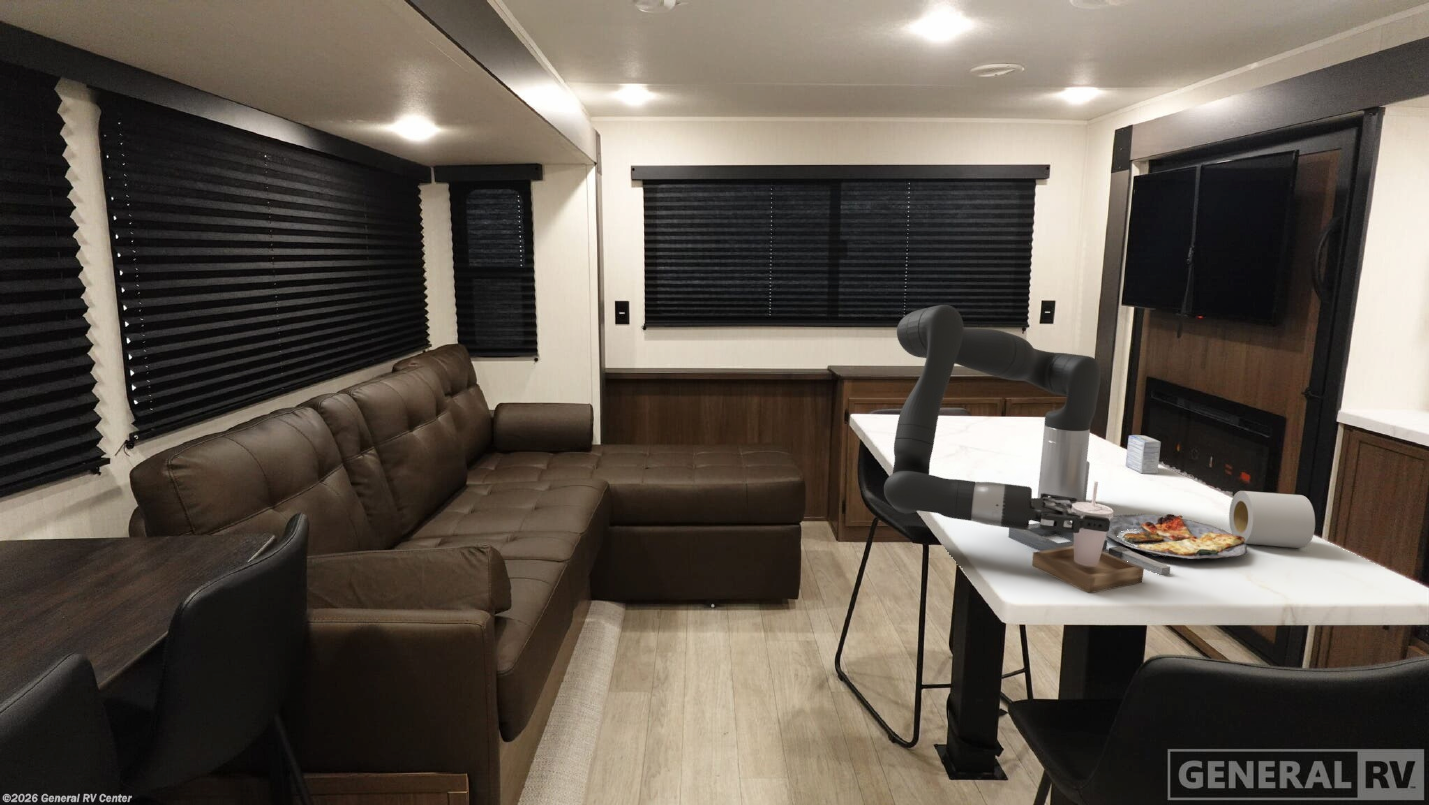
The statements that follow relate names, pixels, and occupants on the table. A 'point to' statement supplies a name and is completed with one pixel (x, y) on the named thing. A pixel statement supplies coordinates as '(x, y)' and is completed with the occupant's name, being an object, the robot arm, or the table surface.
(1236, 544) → the food plate
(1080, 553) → the smoothie
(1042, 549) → the socket
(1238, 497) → the toilet paper
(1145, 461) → the medicine box
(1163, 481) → the table surface
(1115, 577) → the tray
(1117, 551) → the bar
